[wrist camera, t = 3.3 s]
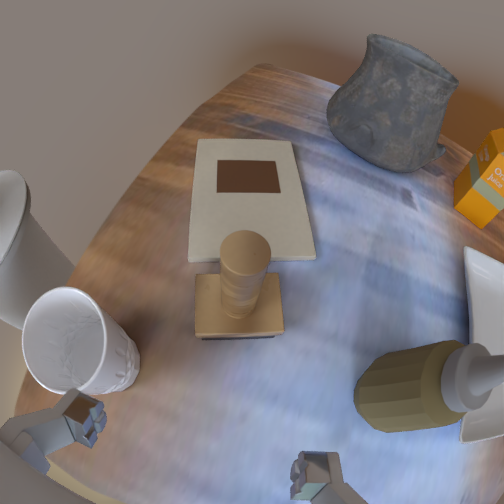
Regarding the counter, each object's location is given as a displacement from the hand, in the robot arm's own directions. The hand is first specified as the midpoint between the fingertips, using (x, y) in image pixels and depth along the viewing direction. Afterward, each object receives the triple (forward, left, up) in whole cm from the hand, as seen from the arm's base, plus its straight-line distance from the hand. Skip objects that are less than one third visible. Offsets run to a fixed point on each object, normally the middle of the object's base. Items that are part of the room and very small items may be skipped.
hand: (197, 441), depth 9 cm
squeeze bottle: (+17, 0, -16) cm, 23 cm away
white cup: (-10, +5, -16) cm, 20 cm away
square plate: (+43, -1, -16) cm, 45 cm away
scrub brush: (+3, +10, -16) cm, 19 cm away
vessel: (+29, +38, -16) cm, 50 cm away
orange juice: (+47, +27, -16) cm, 56 cm away
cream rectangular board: (+5, +26, -16) cm, 31 cm away
